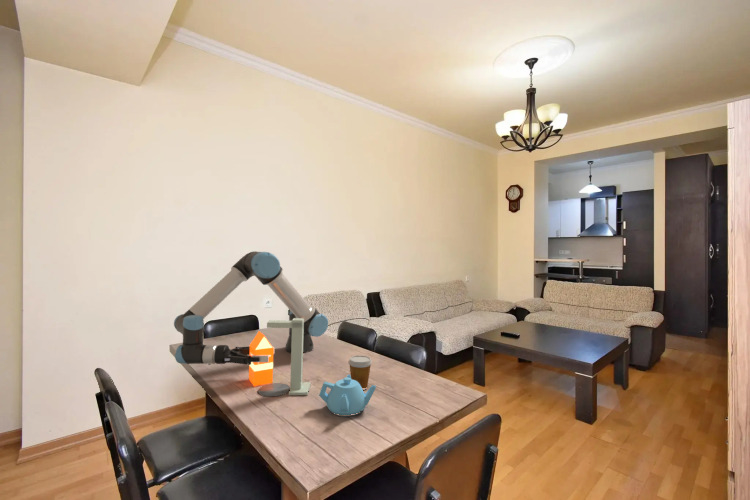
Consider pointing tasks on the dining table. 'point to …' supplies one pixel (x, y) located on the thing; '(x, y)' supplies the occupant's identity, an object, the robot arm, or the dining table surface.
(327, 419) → the dining table surface
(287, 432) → the dining table surface
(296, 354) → the stand
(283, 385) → the seat pad
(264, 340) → the orange juice
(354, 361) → the disposable coffee cup
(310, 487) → the dining table surface
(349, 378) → the teapot
